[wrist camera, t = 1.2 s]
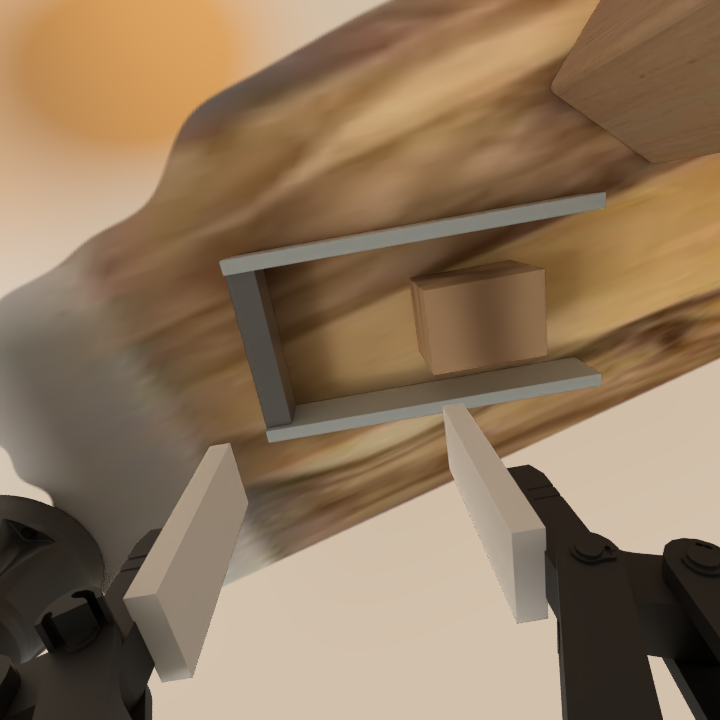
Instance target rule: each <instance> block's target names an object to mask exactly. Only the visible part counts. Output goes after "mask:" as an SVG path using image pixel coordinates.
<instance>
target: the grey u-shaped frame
mask: <svg viewBox="0 0 720 720" xmlns="http://www.w3.org/2000/svg"><path fill="white" fill-rule="evenodd" d="M602 208H606V192H601V193H590V194H580V195H571V196H566V197H560V198H555V199H549V200H543V201H538V202H532V203H527V204H521V205H515V206H510V207H504V208H499V209H493V210H487V211H482V212H476V213H471V214H465V215H459V216H454V217H448V218H443V219H437V220H431V221H426V222H420V223H415V224H409V225H403V226H398V227H392V228H387V229H381V230H375V231H370V232H364V233H359V234H353V235H347V236H342V237H336V238H331V239H325V240H319V241H314V242H308V243H303V244H297V245H291V246H286V247H280V248H275V249H269V250H263V251H258V252H252V253H247V254H241V255H235V256H232V257H229V258H226V259H223V260H221V261H219V263H220V266H221V270H222V274H223V276H225V277H226V280H227V284H228V288H229V291H230V295H231V299H232V302H233V306H234V310H235V313H236V317H237V321H238V324H239V328H240V332H241V335H242V339H243V343H244V346H245V350H246V354H247V357H248V361H249V365H250V368H251V372H252V376H253V379H254V383H255V387H256V390H257V394H258V398H259V401H260V405H261V409H262V412H263V416H264V420H265V424H266V427H267V430H266V434H267V438H268V442H269V443H271V442H277V441H283V440H289V439H295V438H300V437H306V436H312V435H318V434H323V433H329V432H335V431H341V430H347V429H352V428H358V427H364V426H370V425H376V424H381V423H387V422H393V421H399V420H405V419H410V418H416V417H422V416H428V415H434V414H439V413H443V406H446V405H452V404H458V403H463V404H464V405H465V407H466V408H467V409H468V408H474V407H480V406H486V405H492V404H497V403H503V402H509V401H515V400H520V399H526V398H532V397H538V396H544V395H549V394H555V393H561V392H567V391H573V390H578V389H584V388H590V387H596V386H602V373H600V372H598V371H597V370H595V369H593V368H592V367H590V366H588V365H587V364H585V363H583V362H582V361H580V360H578V359H577V358H575V357H571V358H565V359H559V360H553V361H548V362H542V363H536V364H530V365H525V366H519V367H513V368H507V369H502V370H496V371H490V372H484V373H479V374H473V375H467V376H461V377H456V378H450V379H444V380H438V381H433V382H427V383H421V384H415V385H409V386H404V387H398V388H392V389H386V390H381V391H375V392H369V393H363V394H358V395H352V396H346V397H340V398H335V399H329V400H323V401H317V402H312V403H306V404H300V405H296V401H295V397H294V392H293V388H292V384H291V380H290V376H289V372H288V368H287V363H286V359H285V355H284V351H283V347H282V343H281V339H280V334H279V330H278V326H277V322H276V318H275V314H274V309H273V305H272V301H271V297H270V293H269V289H268V285H267V280H266V276H265V272H264V269H265V268H271V267H276V266H282V265H288V264H293V263H299V262H304V261H310V260H316V259H321V258H327V257H333V256H338V255H344V254H349V253H355V252H361V251H366V250H372V249H377V248H383V247H389V246H394V245H400V244H406V243H411V242H417V241H422V240H428V239H434V238H439V237H445V236H451V235H456V234H462V233H467V232H473V231H479V230H484V229H490V228H495V227H501V226H507V225H512V224H518V223H524V222H529V221H535V220H540V219H546V218H552V217H557V216H563V215H568V214H574V213H580V212H585V211H591V210H597V209H602Z"/></svg>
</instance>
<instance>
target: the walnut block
mask: <svg viewBox="0 0 720 720" xmlns="http://www.w3.org/2000/svg"><path fill="white" fill-rule="evenodd" d="M409 280H410V287H411V295H412V302H413V309H414V317H415V324H416V332H417V339H418V347H419V351H420V353H421V355H422V356H423V358H424V360H425V361H426V363H427V365H428V366H429V368H430V370H431V372H432V373H433V375H439V374H444V373H450V372H456V371H461V370H467V369H473V368H478V367H484V366H489V365H495V364H501V363H506V362H512V361H518V360H523V359H529V358H535V357H540V356H546V355H547V334H546V299H545V269H543V268H539V267H535V266H531V265H527V264H523V263H519V262H515V261H511V260H509V261H503V262H498V263H492V264H487V265H481V266H476V267H470V268H465V269H459V270H454V271H448V272H443V273H437V274H432V275H426V276H421V277H415V278H410V279H409Z"/></svg>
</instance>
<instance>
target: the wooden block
mask: <svg viewBox="0 0 720 720" xmlns="http://www.w3.org/2000/svg"><path fill="white" fill-rule="evenodd" d="M551 91H552V92H553V93H554V94H556V95H557V96H558V97H560V98H561V99H563V100H564V101H565V102H567V103H568V104H570V105H571V106H572V107H574V108H575V109H577V110H578V111H579V112H581V113H582V114H584V115H585V116H586V117H588V118H589V119H591V120H592V121H593V122H595V123H596V124H598V125H599V126H600V127H602V128H603V129H605V130H606V131H607V132H609V133H610V134H612V135H613V136H614V137H616V138H617V139H619V140H620V141H621V142H623V143H624V144H626V145H627V146H628V147H630V148H631V149H633V150H634V151H635V152H637V153H638V154H640V155H641V156H642V157H644V158H645V159H647V160H648V161H649V162H651V163H662V162H667V161H673V160H679V159H685V158H691V157H697V156H703V155H708V154H714V153H720V0H600V2H599V4H598V6H597V7H596V9H595V11H594V12H593V14H592V16H591V17H590V19H589V21H588V22H587V24H586V26H585V28H584V29H583V31H582V33H581V34H580V36H579V38H578V39H577V41H576V43H575V44H574V46H573V48H572V49H571V51H570V53H569V55H568V56H567V58H566V60H565V61H564V63H563V65H562V66H561V68H560V70H559V71H558V73H557V75H556V77H555V78H554V80H553V82H552V85H551Z"/></svg>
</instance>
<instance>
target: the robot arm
mask: <svg viewBox="0 0 720 720" xmlns="http://www.w3.org/2000/svg"><path fill="white" fill-rule="evenodd" d="M443 415H444V424H445V433H446V441H447V450H448V459H449V467H450V471H451V473H452V475H453V478H454V480H455V482H456V485H457V487H458V489H459V491H460V494H461V496H462V498H463V501H464V503H465V505H466V507H467V510H468V512H469V514H470V517H471V519H472V521H473V523H474V526H475V528H476V530H477V533H478V535H479V537H480V539H481V542H482V544H483V546H484V549H485V551H486V553H487V556H488V558H489V560H490V563H491V565H492V567H493V569H494V572H495V574H496V576H497V579H498V581H499V583H500V586H501V588H502V590H503V592H504V595H505V597H506V599H507V602H508V604H509V606H510V609H511V611H512V613H513V615H514V618H515V620H516V622H517V624H518V623H523V622H530V621H536V620H541V619H547V618H548V603H549V605H550V606H551V608H552V610H553V612H554V614H555V616H556V618H557V636H558V637H557V640H558V654H559V667H560V684H561V701H562V717H563V720H663V718H662V713H661V709H660V705H659V701H658V697H657V694H656V689H655V685H654V681H653V677H652V673H651V669H650V665H649V661H648V657H647V655H650V656H657V657H662V658H663V660H664V662H665V664H666V666H667V668H668V669H669V671H670V673H671V675H672V677H673V679H674V681H675V682H676V684H677V686H678V688H679V690H680V691H681V693H682V695H683V697H684V699H685V701H686V702H687V704H688V706H689V708H690V710H691V712H692V714H693V715H694V717H695V719H696V720H720V547H718V546H716V545H714V544H711V543H708V542H704V541H701V540H698V539H688V538H681V539H676V540H672V541H670V542H669V543H668V544H666V545H665V548H664V552H663V555H652V554H640V553H632V552H626V551H622V550H619V548H618V547H617V546H616V545H615V544H613V543H612V542H611V541H610V540H609V539H607V538H605V537H603V536H601V535H599V534H595V533H592V532H590V531H589V530H588V529H587V527H586V526H585V525H584V524H583V522H582V521H581V520H580V519H579V517H578V516H577V515H576V514H575V512H574V511H573V510H572V509H571V507H570V506H569V505H568V503H567V502H566V501H565V500H564V498H563V497H561V496H560V493H559V492H558V491H557V490H556V488H555V487H553V485H552V483H551V482H550V481H549V480H548V478H547V477H546V476H545V475H544V473H542V472H540V471H539V470H537V469H535V468H534V467H532V466H530V465H524V466H518V467H512V468H506V467H505V466H504V464H503V463H502V461H501V460H500V458H499V456H498V455H497V453H496V452H495V450H494V449H493V447H492V446H491V444H490V443H489V441H488V440H487V438H486V437H485V435H484V434H483V432H482V431H481V429H480V428H479V426H478V425H477V423H476V422H475V420H474V419H473V417H472V416H471V414H470V413H469V411H468V410H467V408H466V407H465V405H464V404H463V403H458V404H452V405H446V406H443ZM247 506H248V500H247V497H246V494H245V490H244V487H243V484H242V481H241V477H240V474H239V471H238V468H237V464H236V461H235V458H234V455H233V451H232V448H231V445H230V443H226V444H220V445H214V446H210V447H209V449H208V450H207V452H206V454H205V456H204V457H203V459H202V461H201V463H200V464H199V466H198V468H197V470H196V471H195V473H194V475H193V477H192V478H191V480H190V482H189V484H188V485H187V487H186V489H185V491H184V492H183V494H182V496H181V498H180V499H179V501H178V503H177V505H176V506H175V508H174V510H173V512H172V513H171V515H170V517H169V519H168V521H167V522H166V524H165V526H164V528H161V529H155V530H151V531H150V532H149V533H147V534H146V535H145V536H144V537H143V538H142V539H141V540H140V541H139V542H138V543H137V544H136V546H135V547H134V549H133V550H132V552H131V554H130V555H129V557H128V561H126V562H125V563H124V565H123V566H122V568H121V570H120V573H118V574H117V576H116V578H115V579H114V581H113V582H112V584H111V586H110V587H109V589H108V590H107V592H106V594H105V595H103V593H102V591H101V589H100V587H101V585H102V581H103V574H104V568H103V561H102V557H101V554H100V552H99V549H98V547H97V545H96V544H95V542H94V540H93V539H92V538H91V536H90V535H89V534H88V533H87V531H86V530H85V529H84V528H83V527H82V526H81V525H80V524H78V523H77V522H76V521H75V520H74V519H72V518H71V517H69V516H68V515H66V514H65V513H63V512H62V511H60V510H58V509H56V508H54V507H52V506H50V505H47V504H45V503H42V502H39V501H36V500H33V499H29V498H24V497H19V496H10V495H0V720H152V696H151V692H150V689H149V687H148V685H147V683H148V680H149V678H150V676H151V673H152V671H153V668H154V667H155V669H156V671H157V673H158V675H159V677H160V679H161V681H162V682H168V681H174V680H180V679H186V678H192V677H193V674H194V671H195V668H196V665H197V662H198V659H199V656H200V653H201V650H202V646H203V643H204V640H205V637H206V634H207V631H208V628H209V625H210V621H211V618H212V615H213V612H214V609H215V606H216V603H217V600H218V597H219V593H220V590H221V587H222V584H223V581H224V578H225V575H226V572H227V569H228V565H229V562H230V559H231V556H232V553H233V550H234V547H235V544H236V541H237V537H238V534H239V531H240V528H241V525H242V522H243V519H244V516H245V513H246V509H247ZM45 649H47V650H48V653H46V654H43V655H41V656H39V655H40V654H41V653H42V652H43V651H44V650H45ZM37 656H39V657H37Z"/></svg>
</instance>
